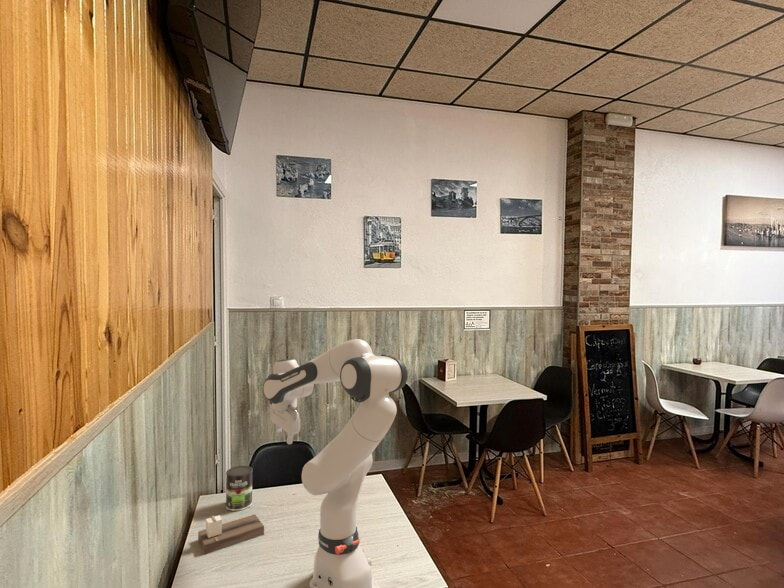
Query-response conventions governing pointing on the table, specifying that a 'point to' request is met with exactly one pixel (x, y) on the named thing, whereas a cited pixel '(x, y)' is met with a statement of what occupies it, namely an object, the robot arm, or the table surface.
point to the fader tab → (213, 526)
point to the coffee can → (239, 488)
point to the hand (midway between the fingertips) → (284, 439)
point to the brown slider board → (232, 534)
